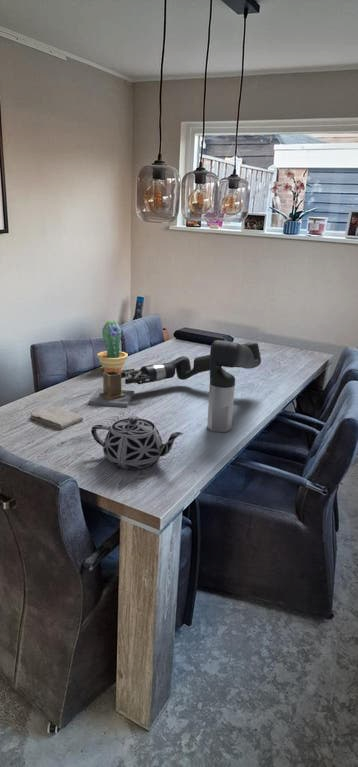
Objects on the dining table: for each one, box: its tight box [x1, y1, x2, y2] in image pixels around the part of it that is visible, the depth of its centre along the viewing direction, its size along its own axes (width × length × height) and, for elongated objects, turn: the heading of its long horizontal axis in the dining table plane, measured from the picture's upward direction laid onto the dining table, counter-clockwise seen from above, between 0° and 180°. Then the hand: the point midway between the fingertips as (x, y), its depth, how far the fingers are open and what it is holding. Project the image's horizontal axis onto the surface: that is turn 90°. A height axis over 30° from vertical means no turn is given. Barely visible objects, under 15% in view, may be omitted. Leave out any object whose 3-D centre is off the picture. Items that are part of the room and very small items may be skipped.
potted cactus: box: [96, 320, 128, 373], centre depth 254 cm, size 15×15×25 cm
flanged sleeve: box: [100, 371, 125, 400], centre depth 216 cm, size 8×8×10 cm
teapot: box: [90, 415, 184, 470], centre depth 163 cm, size 19×31×15 cm, turn 75°
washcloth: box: [30, 405, 84, 430], centre depth 195 cm, size 12×18×3 cm, turn 57°
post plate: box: [88, 388, 135, 408], centre depth 216 cm, size 16×16×10 cm
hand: (120, 378), depth 217 cm, fingers open, 8 cm apart
